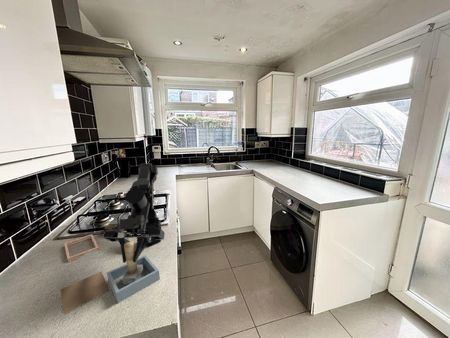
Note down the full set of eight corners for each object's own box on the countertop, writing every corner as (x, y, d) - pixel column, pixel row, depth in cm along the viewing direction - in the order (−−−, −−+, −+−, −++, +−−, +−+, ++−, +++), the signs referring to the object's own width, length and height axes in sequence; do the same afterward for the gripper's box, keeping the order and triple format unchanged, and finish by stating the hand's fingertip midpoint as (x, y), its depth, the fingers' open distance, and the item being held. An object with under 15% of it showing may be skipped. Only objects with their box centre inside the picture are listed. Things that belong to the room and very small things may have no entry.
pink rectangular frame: (92, 236, 94) (92, 234, 94) (99, 250, 83) (98, 247, 82) (64, 246, 87) (64, 243, 87) (68, 262, 76) (67, 258, 75)
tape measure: (122, 229, 101) (121, 222, 100) (115, 236, 94) (114, 229, 94) (110, 229, 101) (109, 223, 101) (101, 236, 94) (100, 229, 94)
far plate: (101, 274, 68) (101, 271, 68) (110, 293, 60) (109, 290, 60) (61, 292, 61) (60, 289, 61) (64, 317, 52) (63, 314, 52)
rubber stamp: (131, 270, 66) (126, 238, 64) (143, 269, 66) (139, 238, 64) (123, 283, 60) (117, 249, 58) (135, 283, 60) (130, 249, 58)
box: (146, 265, 72) (145, 255, 71) (160, 282, 64) (158, 270, 63) (108, 284, 64) (106, 272, 63) (118, 306, 55) (116, 293, 54)
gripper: (101, 207, 62) (83, 259, 54) (158, 205, 63) (150, 256, 54) (117, 218, 72) (104, 265, 63) (167, 216, 72) (161, 262, 63)
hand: (129, 262), depth 61 cm, fingers closed on rubber stamp, 3 cm apart
